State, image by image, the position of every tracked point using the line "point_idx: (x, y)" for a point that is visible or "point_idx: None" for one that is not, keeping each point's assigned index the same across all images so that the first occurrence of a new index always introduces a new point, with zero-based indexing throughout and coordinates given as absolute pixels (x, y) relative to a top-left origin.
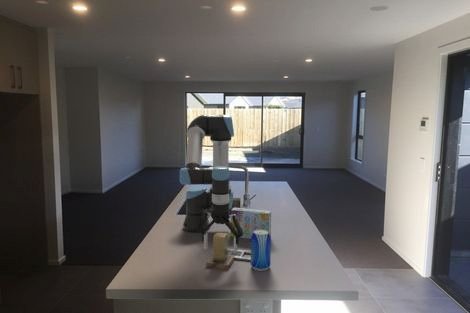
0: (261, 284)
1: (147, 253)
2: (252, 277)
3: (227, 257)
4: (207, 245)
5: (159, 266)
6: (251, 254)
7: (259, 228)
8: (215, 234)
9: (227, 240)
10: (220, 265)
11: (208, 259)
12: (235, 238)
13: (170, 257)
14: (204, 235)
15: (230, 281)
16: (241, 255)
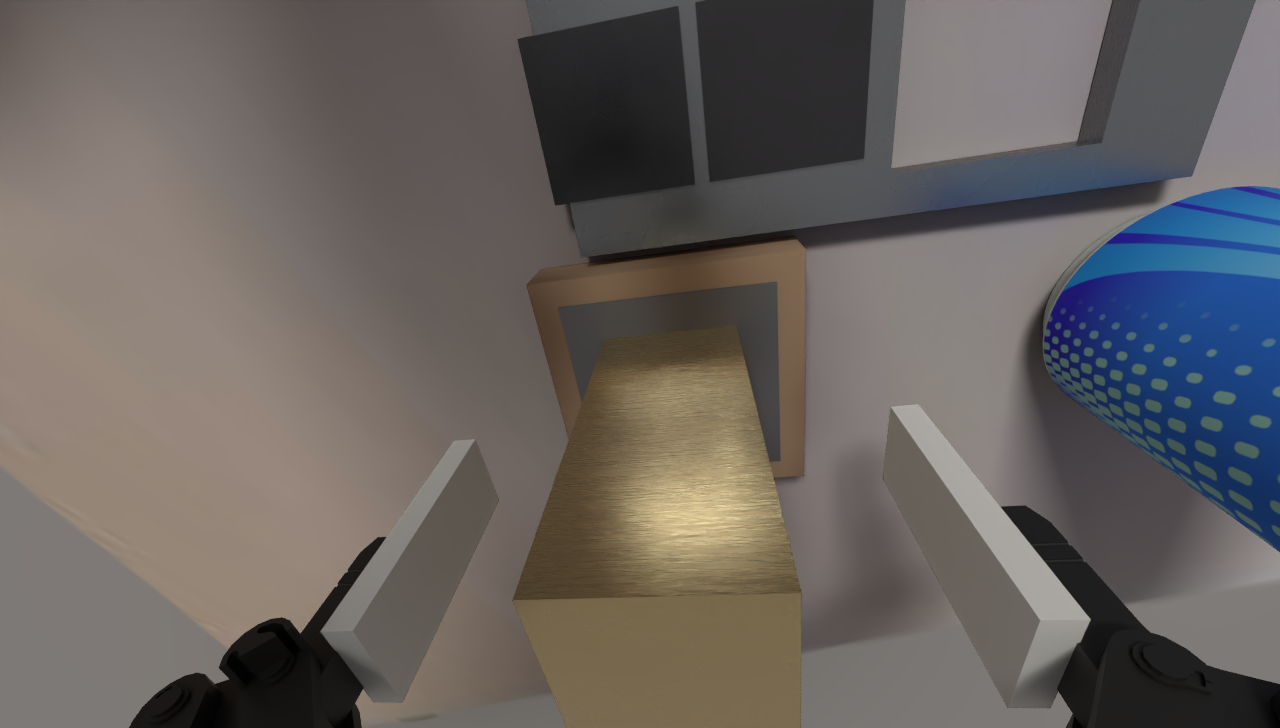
0: (1118, 560)
1: (12, 413)
2: (1040, 496)
3: (740, 333)
4: (467, 456)
5: (300, 546)
6: (1166, 458)
7: None
8: (561, 686)
9: (769, 465)
10: None
11: (570, 435)
12: (1042, 697)
13: (218, 413)
14: (390, 691)
15: (863, 579)
16: (882, 124)
